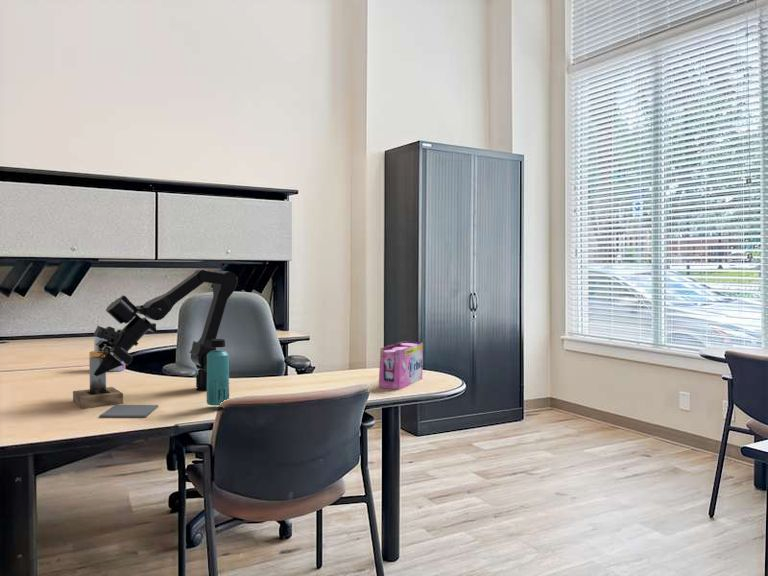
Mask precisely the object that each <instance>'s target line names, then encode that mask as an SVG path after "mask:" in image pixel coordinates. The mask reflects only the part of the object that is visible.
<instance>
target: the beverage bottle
mask: <svg viewBox="0 0 768 576" xmlns="http://www.w3.org/2000/svg"><path fill="white" fill-rule="evenodd" d="M210 347H216V348H225V347H226V340H225V338H224V339H223V338H216V339H212V340H211V345H210ZM229 361H230V354H229V353H228V352H227V351H226V350H225V349H223V350H222V349H216V350H213V351H210V352H209V353H208V354H207V389H206V390H205V391H206V397H205V398H206V399H205V400H206V404H207V405H209V406H221V405H220V403H221V402H223V401H224V400H227V399H229V400H230V369H231V368H230V362H229Z"/></svg>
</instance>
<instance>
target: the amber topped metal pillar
mask: <svg viewBox="0 0 768 576" xmlns="http://www.w3.org/2000/svg"><path fill="white" fill-rule="evenodd" d="M88 357H89V360H88V361H89V362H88V363H89V365H88V366H89V371H90V372H89V389H90V395H96V394H104V393H106V387H107V372H105V373H103V374H101V375H98V376H95V375H94V372H95V371H96V370H97V368H98V367H99V365H100V364H101V363H102V361H103V360H104V359H105V351H94V350H91V351H89V353H88Z"/></svg>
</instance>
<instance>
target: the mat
mask: <svg viewBox="0 0 768 576" xmlns="http://www.w3.org/2000/svg"><path fill="white" fill-rule="evenodd" d="M158 408H159V404H115V405H113V406H112V407H110V408H108V409H107V410H106V411H104V412H103V413H101V414H100V415H99V419H100V418H101V419H103V418H104V419H105V418H106V419H107V418H109V419H110V418H111V419H117V418H118V419H120V418H121V419H122V418H123V419H125V418H126V419H127V418H128V419H129V418H130V419H133V418H134V419H135V418H136V419H138V418H139V419H144V418H145V419H146V418H147V417H148V416H150V415H151V414H152V413H153V412H154V411H155V410H157V409H158Z"/></svg>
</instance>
